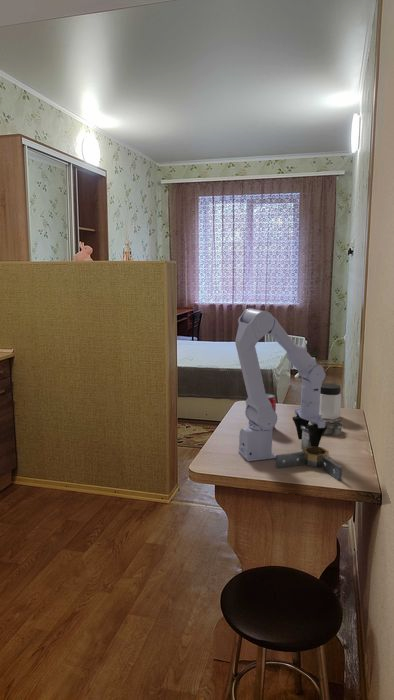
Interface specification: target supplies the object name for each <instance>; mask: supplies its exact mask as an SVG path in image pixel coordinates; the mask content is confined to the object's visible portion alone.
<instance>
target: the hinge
mask: <svg viewBox="0 0 394 700" xmlns="http://www.w3.org/2000/svg"><path fill="white" fill-rule="evenodd" d="M275 455H276V458H275V468H276V469H283V468H290V467H299V466H307V467H310V468H316V469H319V468H320V469H322V470H323V471H324V472H326V473H327V474H329V475H330V476H331V477H333V478H334V479H335V480H337V481H342V478H343V467H342V466H341V465H339V464H338V463H337V462H335V461H333V460H332V459H330V458H329V455H330V451H329V450H327V449H326V448H324V447H320V446H318V447H315V446H314V447H313V446H311V447H305V448H304V449H303V450H302V449H301V451H299V452H290V453H282V454H281V453H280V454H275Z"/></svg>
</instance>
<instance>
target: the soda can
mask: <svg viewBox="0 0 394 700" xmlns="http://www.w3.org/2000/svg"><path fill="white" fill-rule="evenodd" d="M266 396H267V398H268V399H269V401H270V403H271V405H272V408H273V410H274V411H275V412H276V408H277V407H276V405H277V399H276V397H275V396H276V395H274V394H272V393H266ZM275 428H276V425H275V426H274V427H273V430H274V429H275Z"/></svg>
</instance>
